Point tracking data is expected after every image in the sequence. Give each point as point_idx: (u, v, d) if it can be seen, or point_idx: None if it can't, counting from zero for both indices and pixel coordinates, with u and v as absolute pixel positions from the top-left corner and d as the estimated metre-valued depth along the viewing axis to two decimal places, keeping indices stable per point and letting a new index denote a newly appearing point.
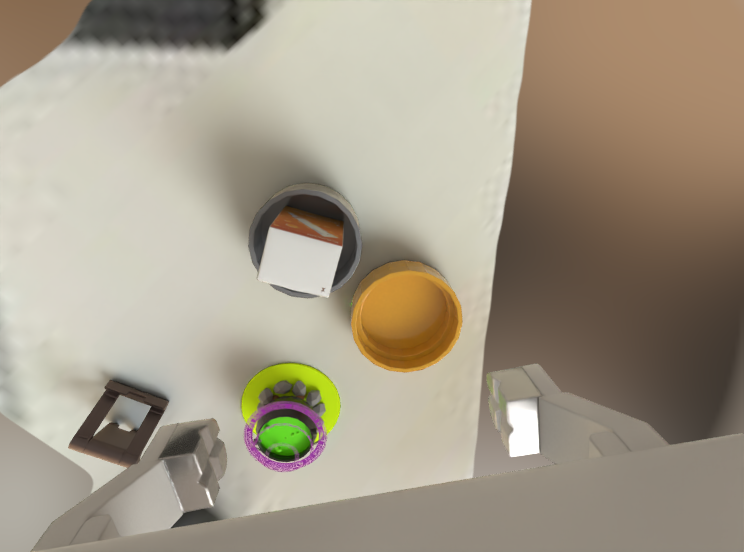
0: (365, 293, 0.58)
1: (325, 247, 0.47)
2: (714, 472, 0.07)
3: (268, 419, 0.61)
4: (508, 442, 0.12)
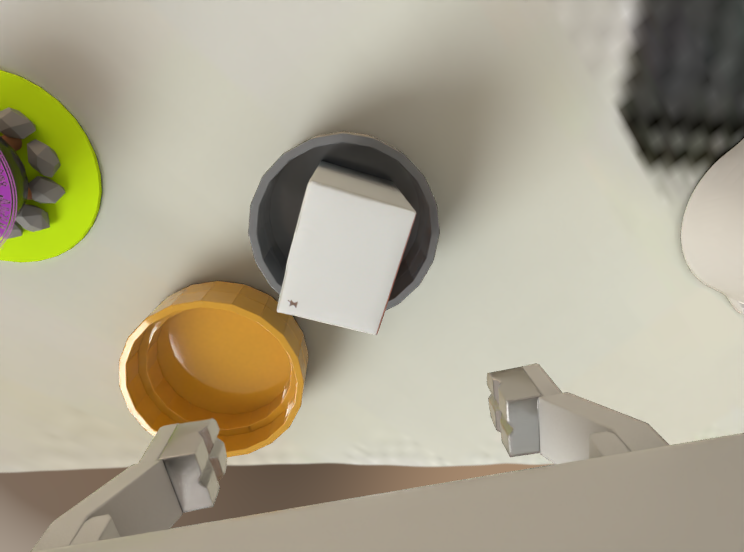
0: (261, 321, 0.35)
1: (375, 308, 0.26)
2: (714, 472, 0.07)
3: None
4: (508, 442, 0.12)
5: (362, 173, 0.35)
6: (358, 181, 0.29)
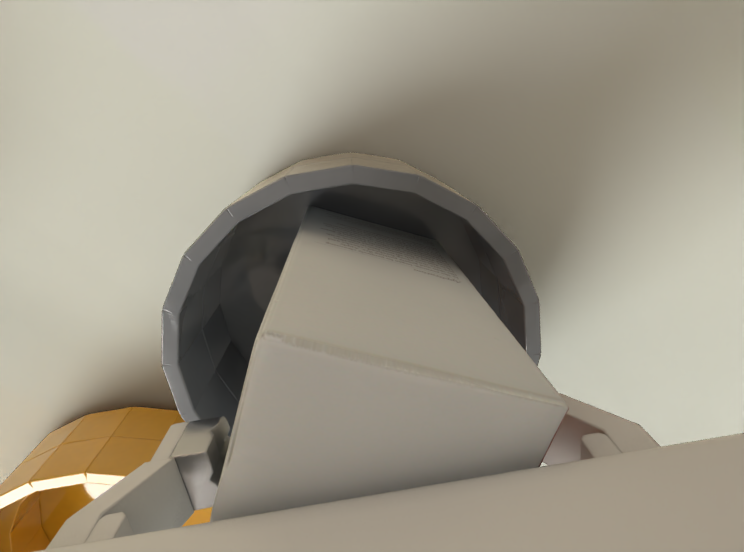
0: None
1: None
2: (714, 472, 0.07)
3: None
4: None
5: (384, 229, 0.19)
6: (387, 271, 0.13)
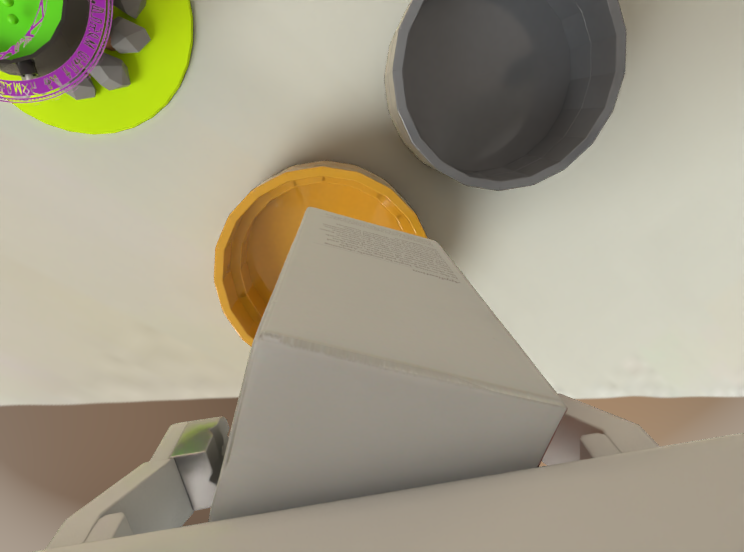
0: (391, 196, 0.29)
1: None
2: (714, 472, 0.07)
3: None
4: None
5: (384, 229, 0.19)
6: (385, 271, 0.13)
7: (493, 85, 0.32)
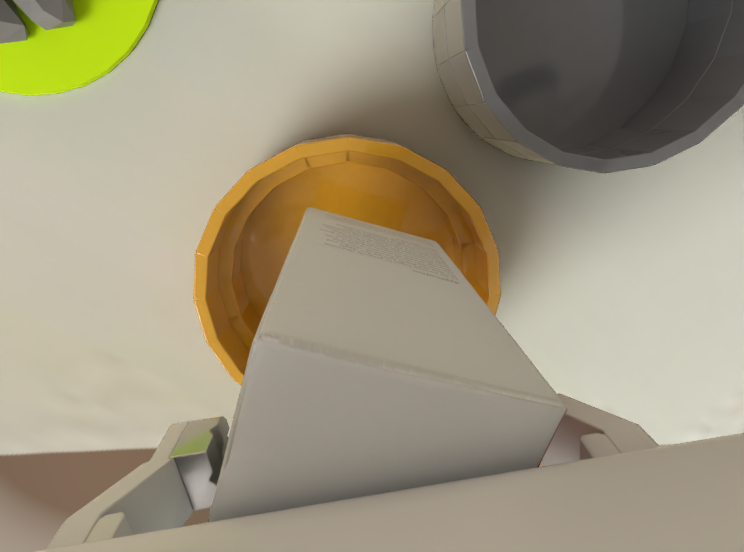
0: (446, 181, 0.20)
1: None
2: (714, 472, 0.07)
3: None
4: None
5: (384, 230, 0.19)
6: (385, 272, 0.13)
7: (581, 30, 0.23)
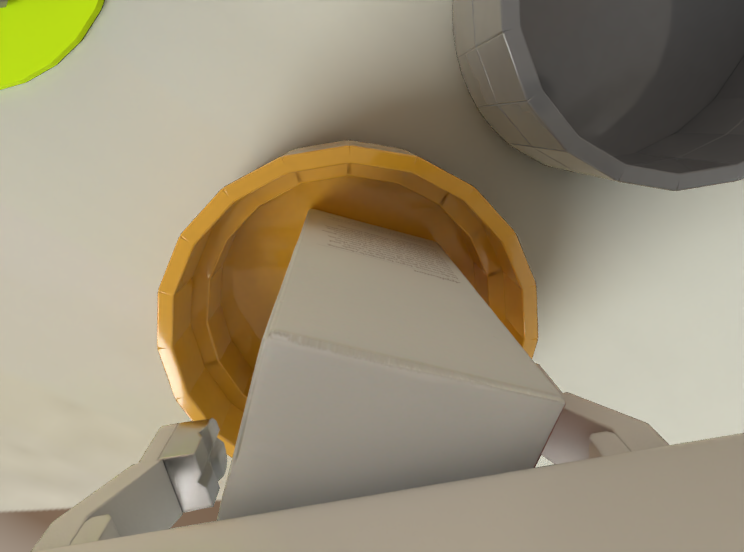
0: (473, 200, 0.16)
1: None
2: (714, 472, 0.07)
3: None
4: None
5: (385, 231, 0.20)
6: (387, 272, 0.14)
7: (635, 13, 0.19)
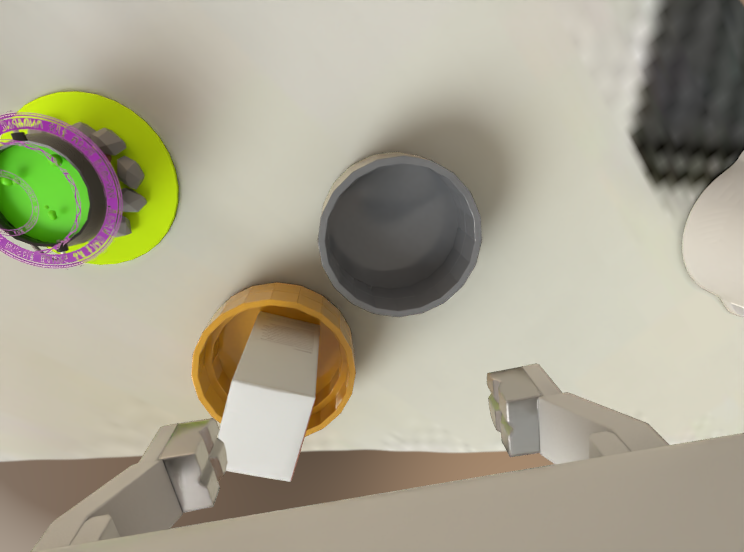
0: (321, 318, 0.40)
1: (288, 463, 0.34)
2: (714, 472, 0.07)
3: (78, 166, 0.32)
4: (508, 442, 0.12)
5: (293, 322, 0.44)
6: (281, 351, 0.38)
7: (401, 230, 0.43)
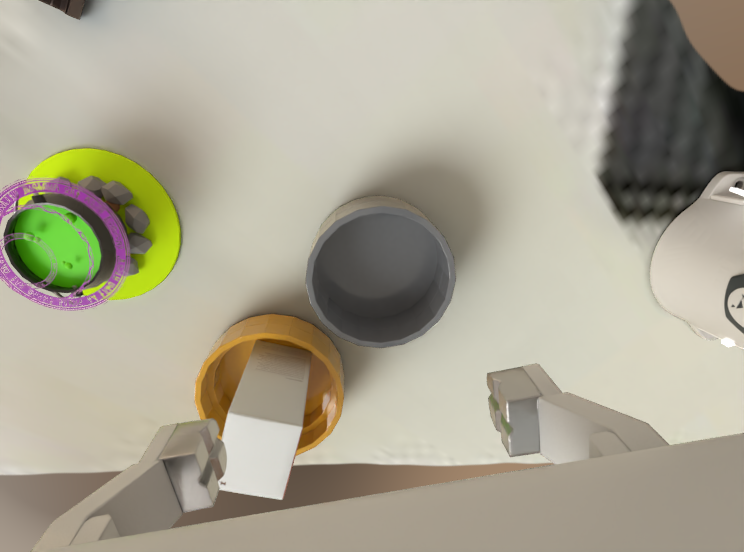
0: (311, 349, 0.44)
1: (279, 483, 0.38)
2: (714, 472, 0.07)
3: (90, 223, 0.36)
4: (508, 442, 0.12)
5: (286, 350, 0.47)
6: (273, 381, 0.42)
7: (385, 265, 0.46)
